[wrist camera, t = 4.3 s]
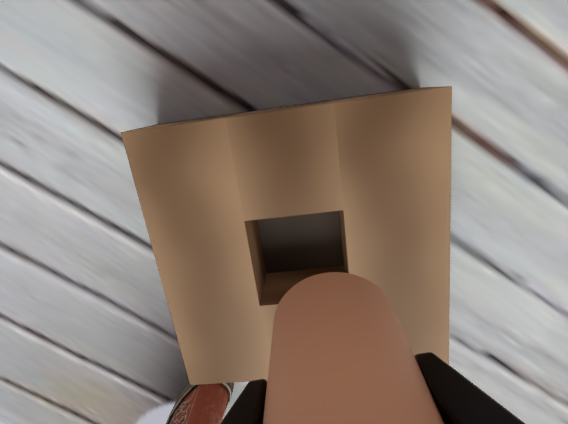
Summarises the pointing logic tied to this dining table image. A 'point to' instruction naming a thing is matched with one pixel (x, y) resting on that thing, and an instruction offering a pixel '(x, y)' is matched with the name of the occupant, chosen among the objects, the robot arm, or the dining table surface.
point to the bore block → (297, 217)
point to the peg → (343, 358)
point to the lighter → (202, 404)
